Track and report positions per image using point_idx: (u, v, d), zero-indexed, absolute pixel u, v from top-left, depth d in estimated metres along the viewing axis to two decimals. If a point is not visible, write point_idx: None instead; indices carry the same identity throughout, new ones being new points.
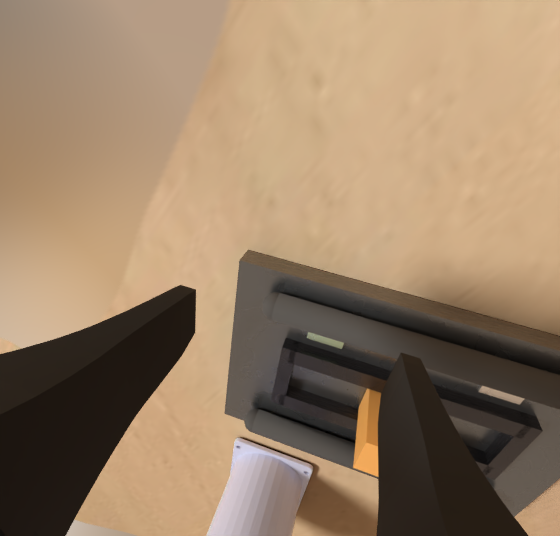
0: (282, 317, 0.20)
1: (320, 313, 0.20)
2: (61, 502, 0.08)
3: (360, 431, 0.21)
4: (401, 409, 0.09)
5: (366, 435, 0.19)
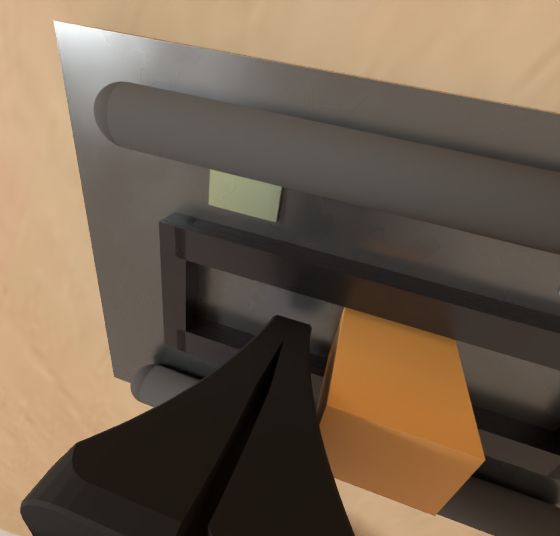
0: (128, 122, 0.09)
1: (208, 106, 0.09)
2: None
3: (323, 390, 0.10)
4: None
5: (329, 391, 0.08)
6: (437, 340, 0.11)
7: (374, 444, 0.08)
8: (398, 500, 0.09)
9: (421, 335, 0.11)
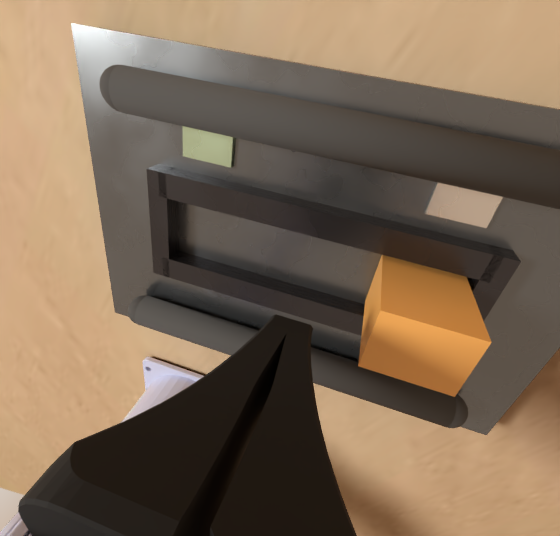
0: (123, 91, 0.13)
1: (176, 80, 0.13)
2: None
3: (369, 315, 0.14)
4: None
5: (380, 304, 0.12)
6: (454, 279, 0.14)
7: (412, 339, 0.12)
8: (428, 386, 0.12)
9: (441, 275, 0.14)
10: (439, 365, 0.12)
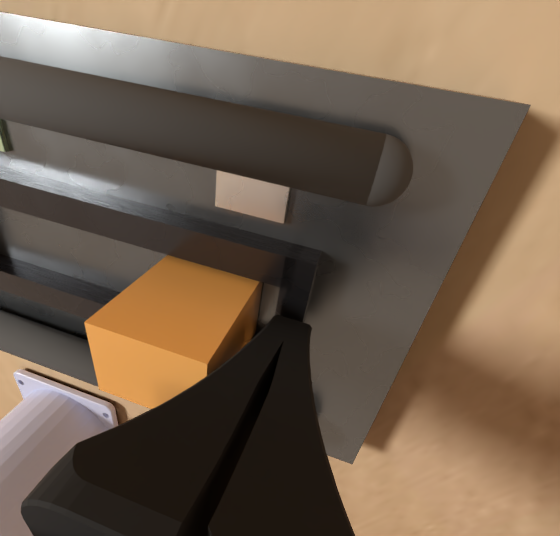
0: None
1: None
2: None
3: None
4: None
5: (98, 313, 0.09)
6: (240, 281, 0.12)
7: (132, 359, 0.09)
8: None
9: (227, 277, 0.12)
10: (172, 390, 0.09)
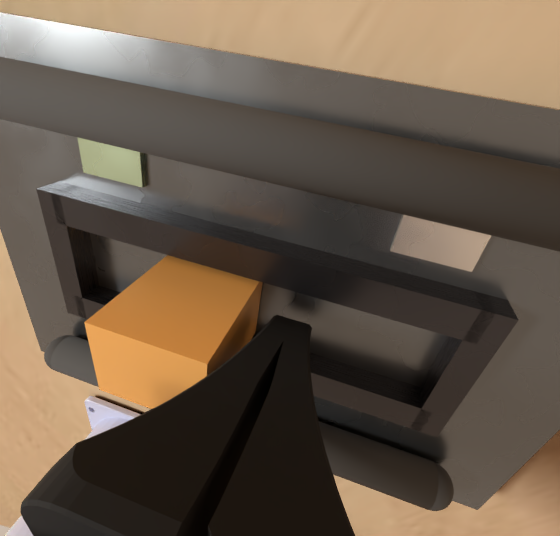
0: None
1: (46, 72, 0.09)
2: None
3: None
4: None
5: (98, 313, 0.09)
6: (240, 281, 0.12)
7: (132, 359, 0.09)
8: None
9: (227, 277, 0.12)
10: (172, 390, 0.09)
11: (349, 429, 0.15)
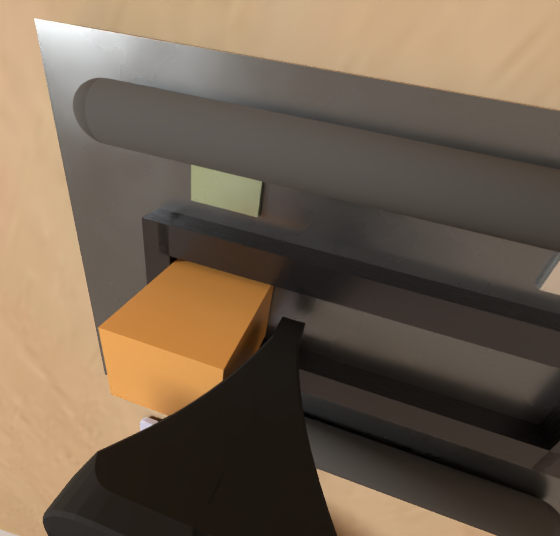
0: (106, 117, 0.09)
1: (185, 101, 0.09)
2: None
3: None
4: None
5: (112, 318, 0.09)
6: (252, 285, 0.11)
7: (146, 364, 0.09)
8: None
9: (238, 280, 0.12)
10: (186, 396, 0.09)
11: (446, 463, 0.14)
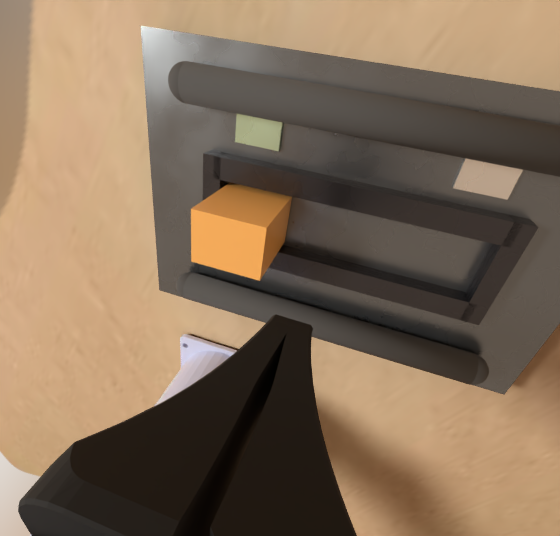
0: (190, 84, 0.15)
1: (238, 73, 0.15)
2: None
3: None
4: None
5: None
6: (277, 198, 0.18)
7: (218, 232, 0.15)
8: (240, 274, 0.16)
9: (268, 195, 0.18)
10: (241, 253, 0.15)
11: (409, 334, 0.20)
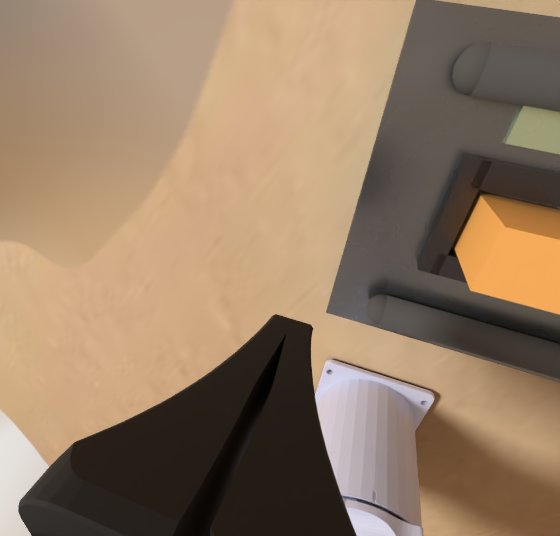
0: (503, 70, 0.12)
1: None
2: None
3: (474, 245, 0.14)
4: None
5: (501, 224, 0.12)
6: (554, 212, 0.14)
7: (534, 257, 0.12)
8: (541, 307, 0.13)
9: (541, 209, 0.15)
10: (558, 283, 0.12)
11: None
